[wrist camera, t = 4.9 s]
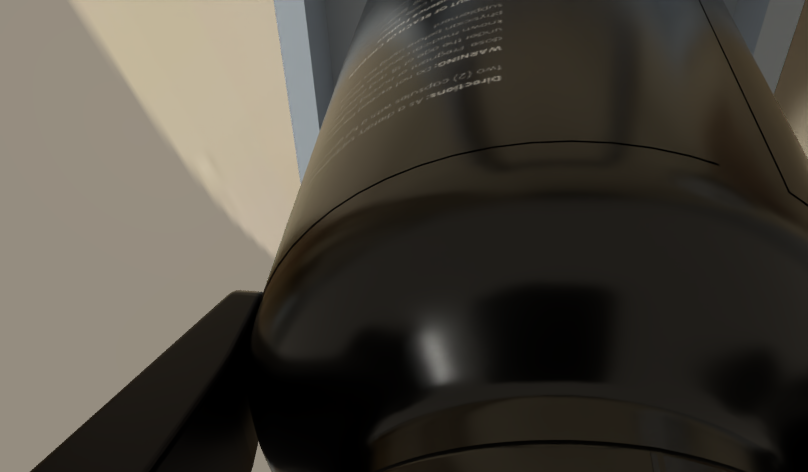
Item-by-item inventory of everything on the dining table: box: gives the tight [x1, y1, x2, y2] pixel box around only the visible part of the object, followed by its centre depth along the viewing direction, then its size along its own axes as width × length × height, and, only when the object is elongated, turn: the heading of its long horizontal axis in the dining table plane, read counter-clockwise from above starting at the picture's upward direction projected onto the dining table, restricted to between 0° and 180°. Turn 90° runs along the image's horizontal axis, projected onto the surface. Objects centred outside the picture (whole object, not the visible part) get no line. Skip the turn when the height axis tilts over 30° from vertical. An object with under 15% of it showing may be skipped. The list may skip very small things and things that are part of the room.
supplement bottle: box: [246, 0, 808, 472], centre depth 10 cm, size 7×7×12 cm
